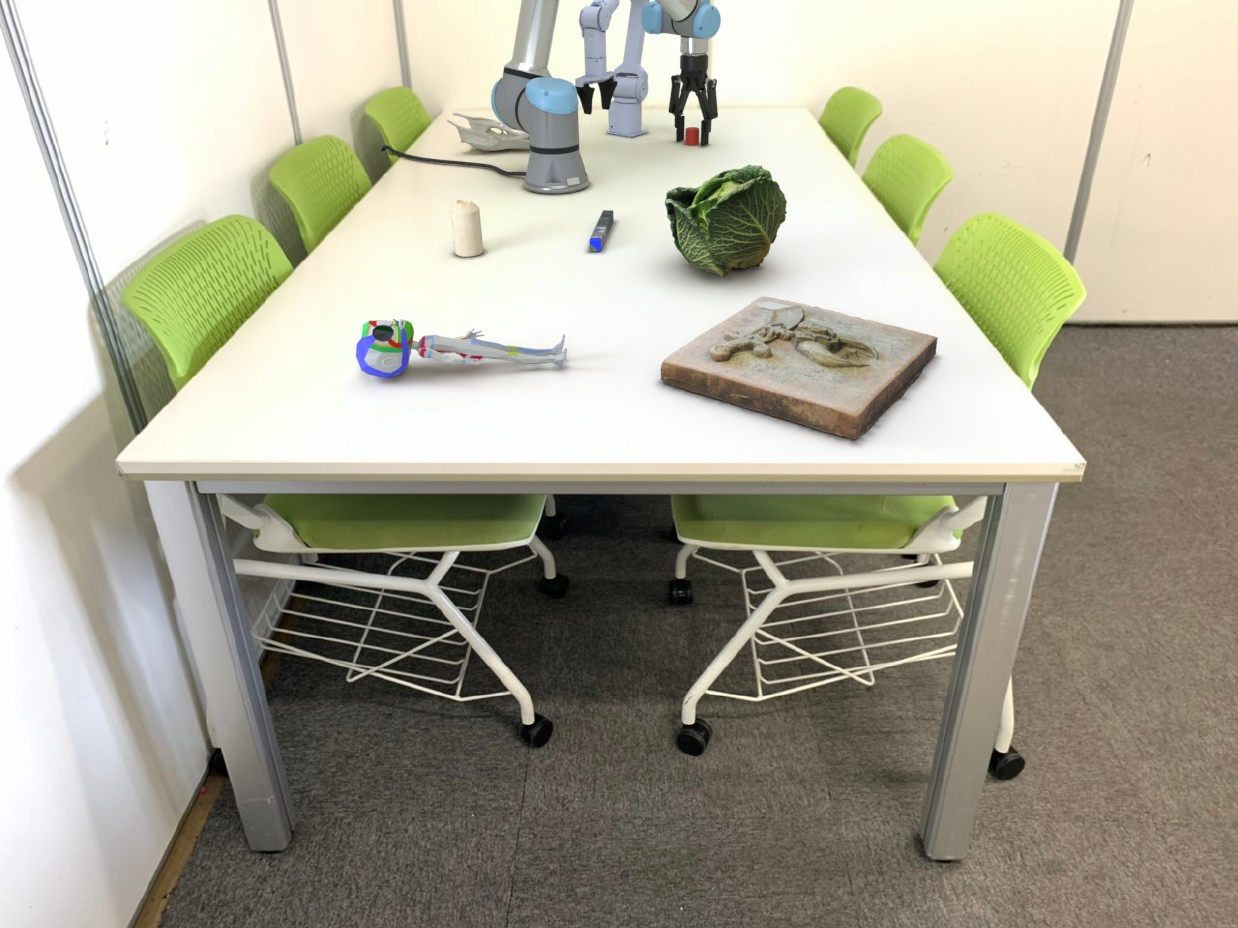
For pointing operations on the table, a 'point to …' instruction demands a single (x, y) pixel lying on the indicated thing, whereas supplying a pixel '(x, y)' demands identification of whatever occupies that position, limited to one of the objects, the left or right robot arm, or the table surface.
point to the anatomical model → (490, 135)
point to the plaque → (803, 364)
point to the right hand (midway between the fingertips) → (596, 111)
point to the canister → (692, 136)
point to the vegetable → (727, 219)
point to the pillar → (601, 230)
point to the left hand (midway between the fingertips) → (692, 142)
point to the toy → (435, 349)
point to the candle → (466, 228)
